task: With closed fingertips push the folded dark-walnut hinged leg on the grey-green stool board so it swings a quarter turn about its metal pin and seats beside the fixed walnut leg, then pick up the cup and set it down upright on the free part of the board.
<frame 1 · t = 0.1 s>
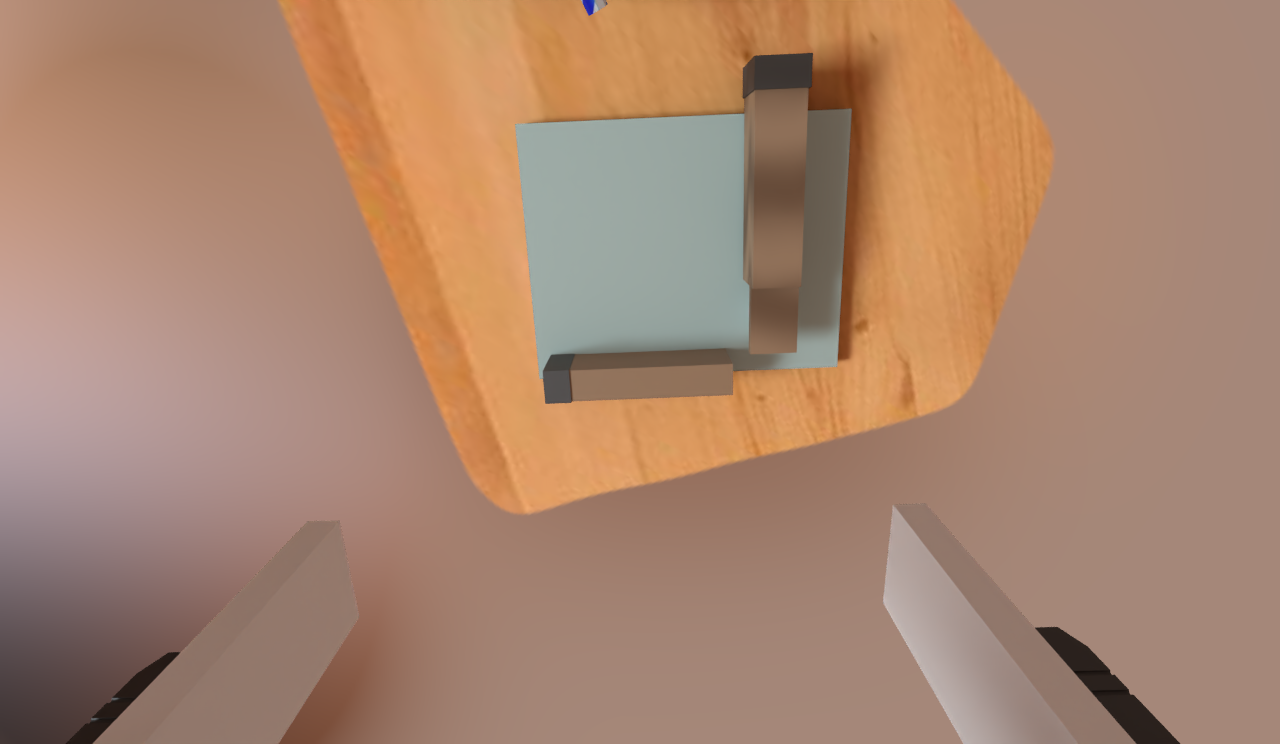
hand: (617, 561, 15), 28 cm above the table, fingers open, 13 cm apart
leg: (772, 214, 36), point 3 cm above the table, hinge at 0.0°
stool seat: (684, 250, 40), on the table
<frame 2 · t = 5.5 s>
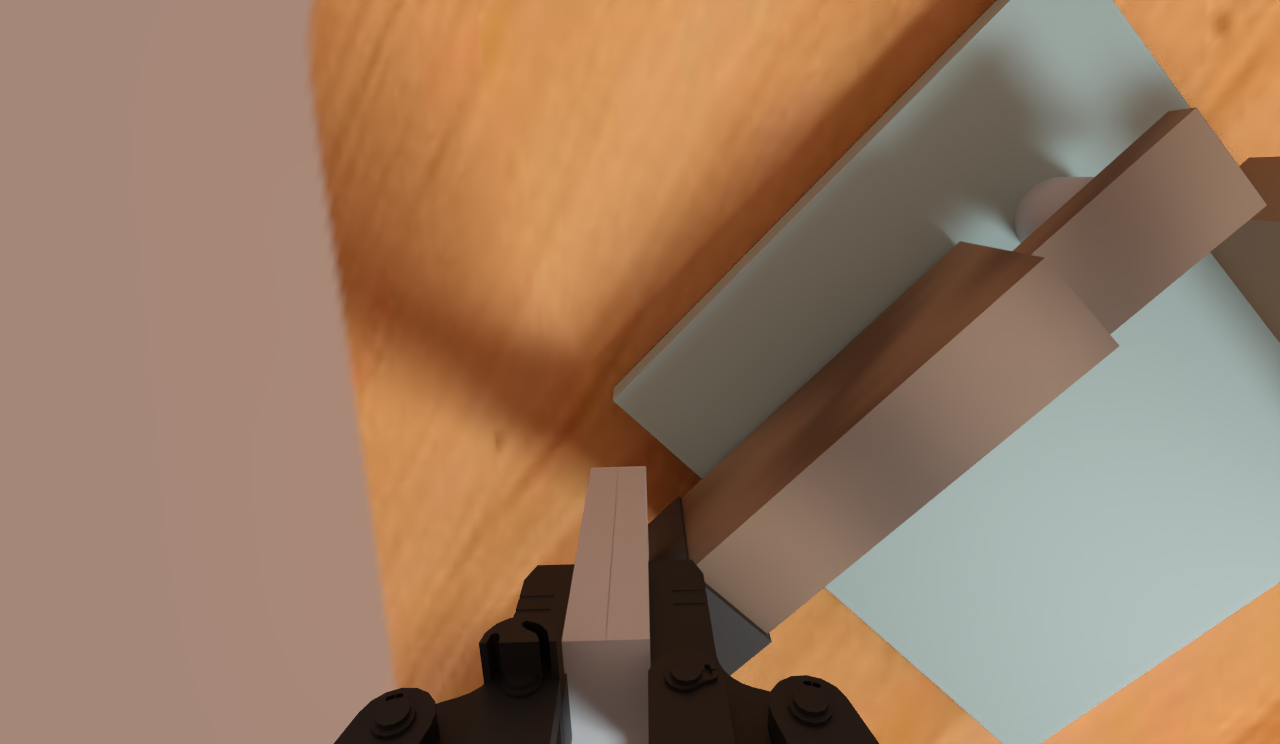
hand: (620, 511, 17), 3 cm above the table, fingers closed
leg: (904, 403, 16), point 3 cm above the table, hinge at 0.0°, touching gripper
stool seat: (1015, 419, 20), on the table
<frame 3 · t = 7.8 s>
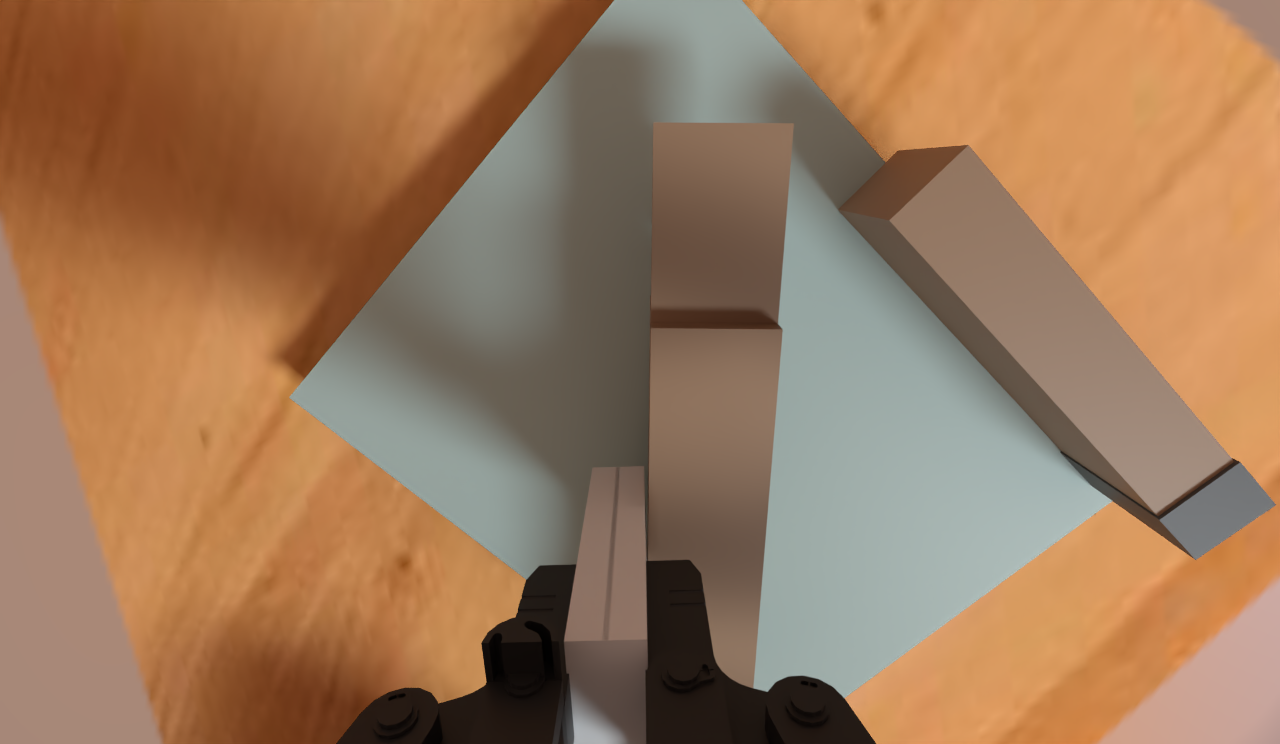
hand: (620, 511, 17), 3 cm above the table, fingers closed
leg: (702, 464, 16), point 3 cm above the table, hinge at 43.1°, touching gripper
stool seat: (722, 417, 19), on the table
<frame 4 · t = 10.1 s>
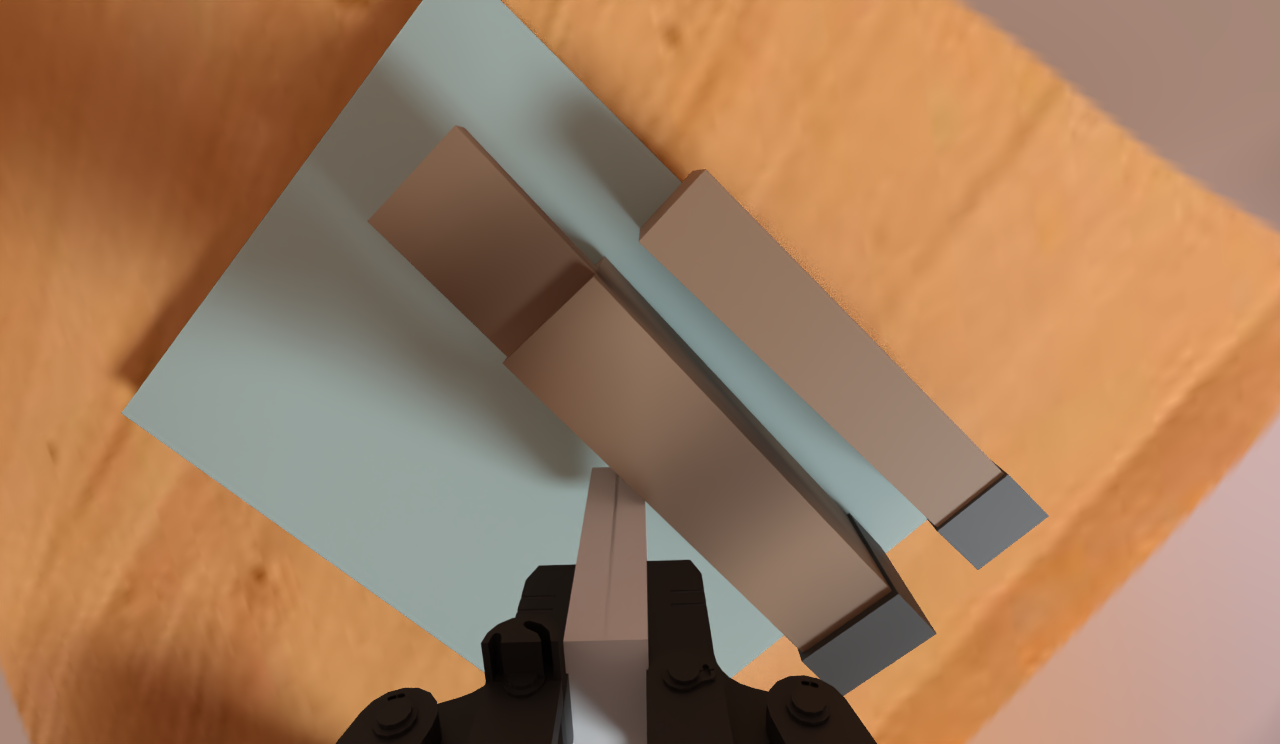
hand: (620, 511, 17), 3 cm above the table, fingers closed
leg: (670, 419, 16), point 3 cm above the table, hinge at 86.2°, touching gripper
stool seat: (559, 430, 20), on the table
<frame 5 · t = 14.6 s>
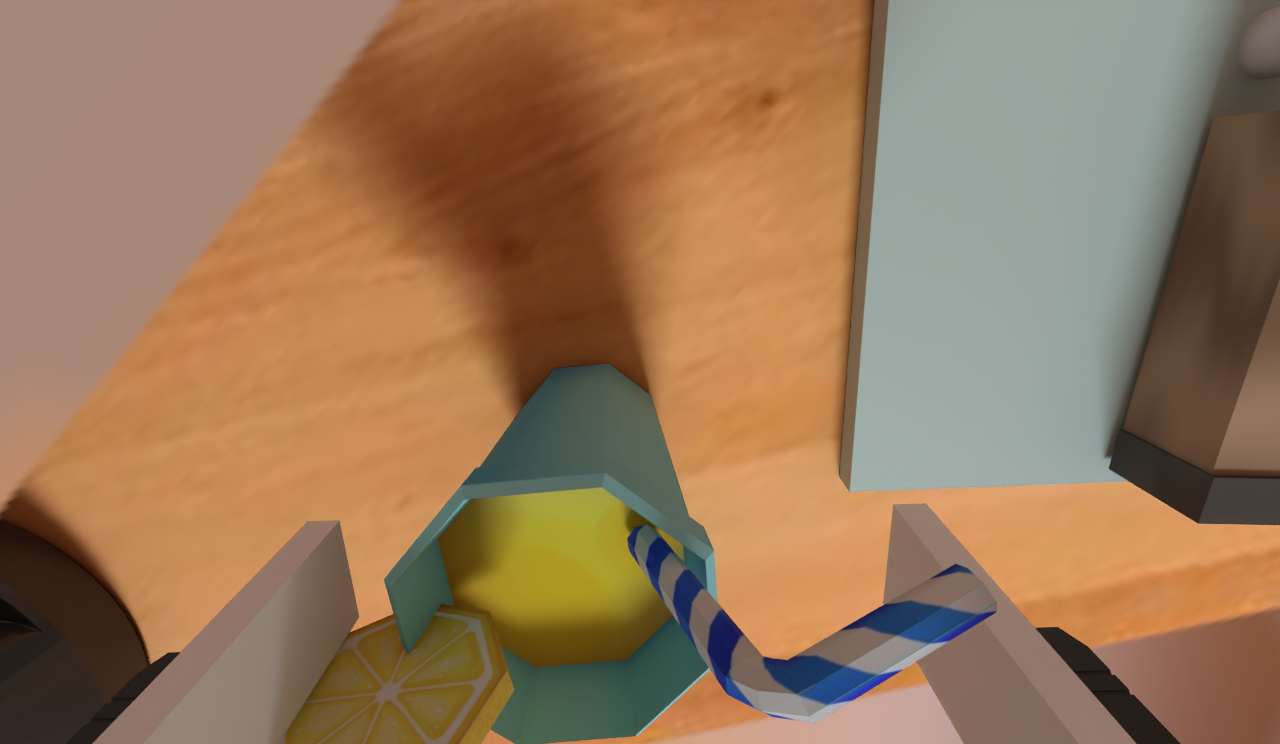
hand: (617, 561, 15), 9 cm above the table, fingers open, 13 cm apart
cup: (610, 414, 24), on the table, touching gripper
leg: (1273, 256, 19), point 3 cm above the table, hinge at 86.2°
stool seat: (1085, 212, 22), on the table
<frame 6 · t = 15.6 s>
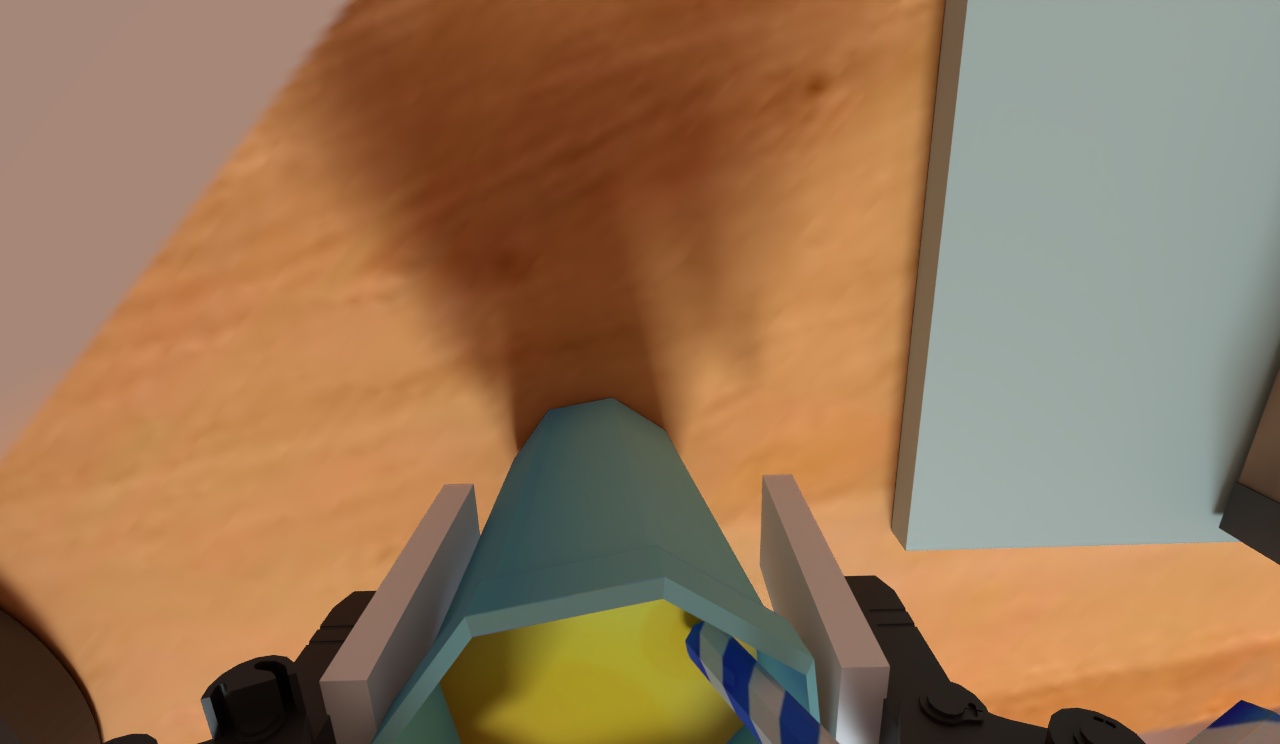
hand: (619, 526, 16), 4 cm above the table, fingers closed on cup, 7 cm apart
cup: (618, 455, 20), on the table, touching gripper
stool seat: (1198, 222, 18), on the table
when the fingers open (7 cm above the table, at t = 21.1 s): cup drops 2 cm, resting on stool seat.
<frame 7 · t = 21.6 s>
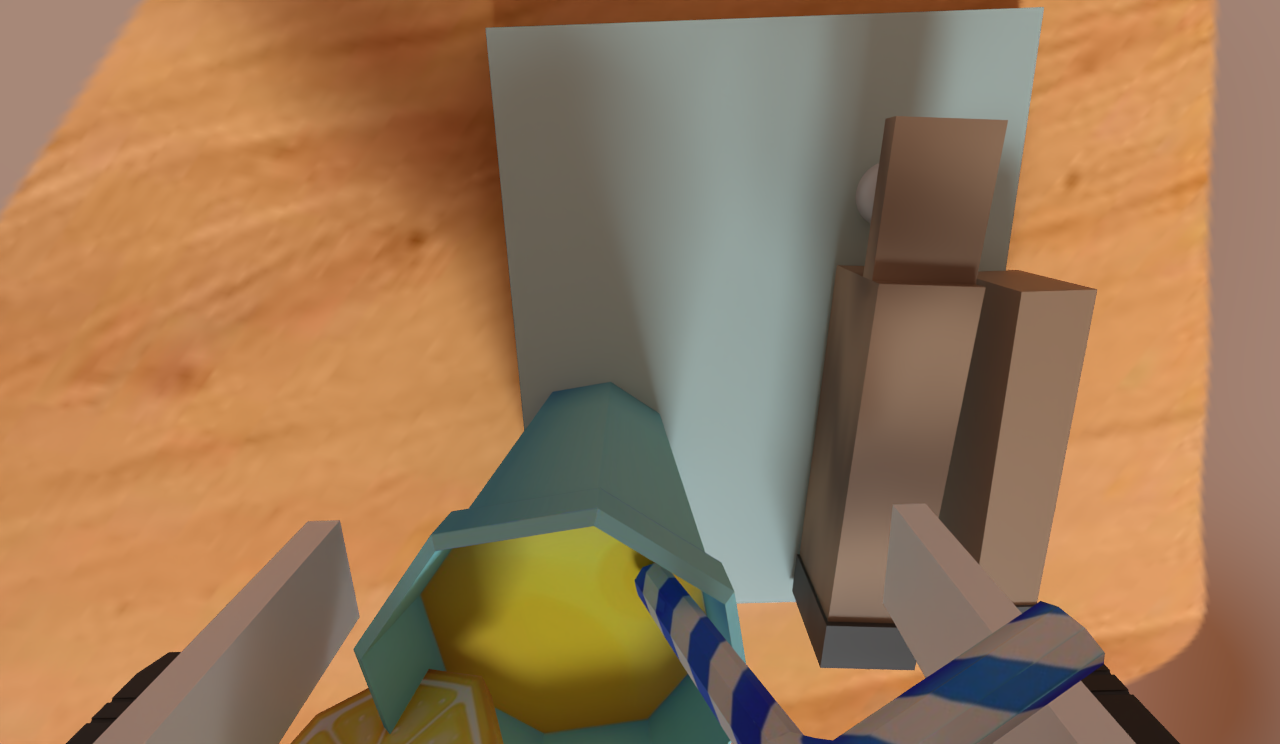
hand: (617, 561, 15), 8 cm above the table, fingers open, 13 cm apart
cup: (617, 436, 22), point 1 cm above the table, touching stool seat
leg: (883, 407, 19), point 3 cm above the table, hinge at 86.2°
stool seat: (749, 343, 22), on the table
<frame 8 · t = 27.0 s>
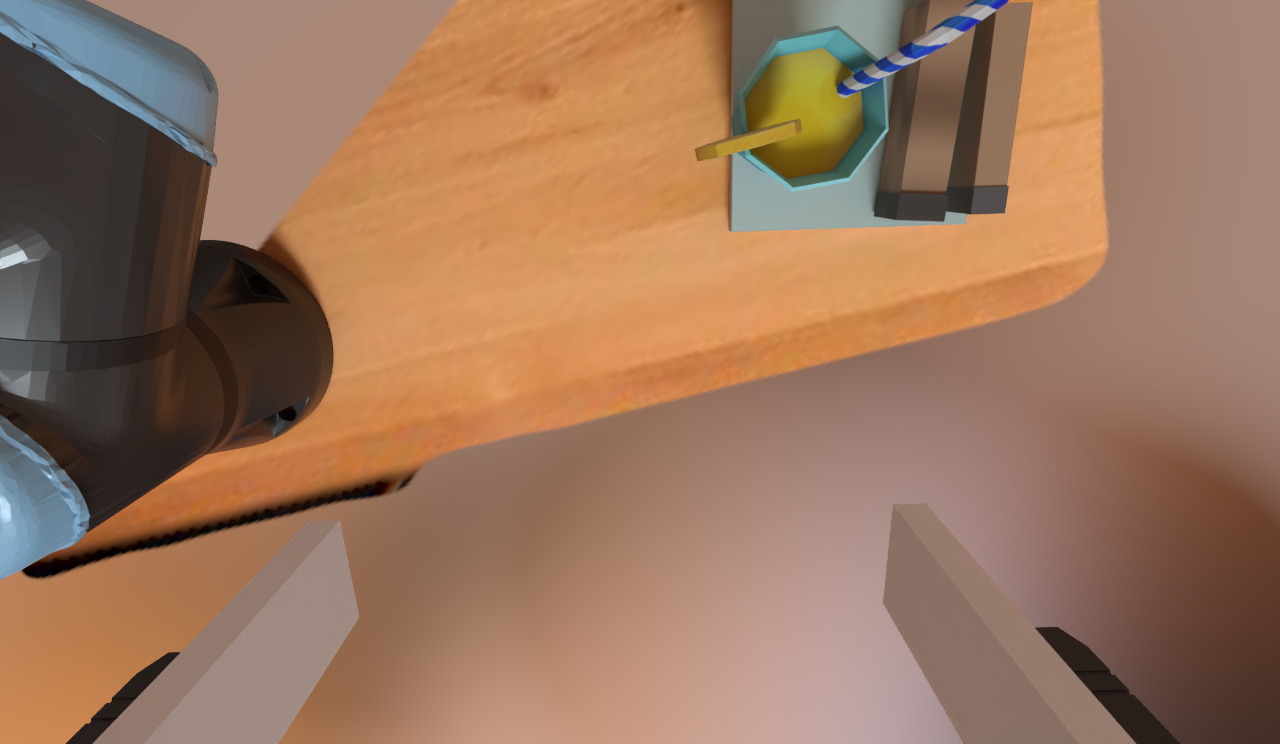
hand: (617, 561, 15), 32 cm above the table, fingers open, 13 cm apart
cup: (781, 120, 40), point 1 cm above the table, touching stool seat
leg: (929, 81, 37), point 3 cm above the table, hinge at 86.2°
stool seat: (853, 70, 40), on the table
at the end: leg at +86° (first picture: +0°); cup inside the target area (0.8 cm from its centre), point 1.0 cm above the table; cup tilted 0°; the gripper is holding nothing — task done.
